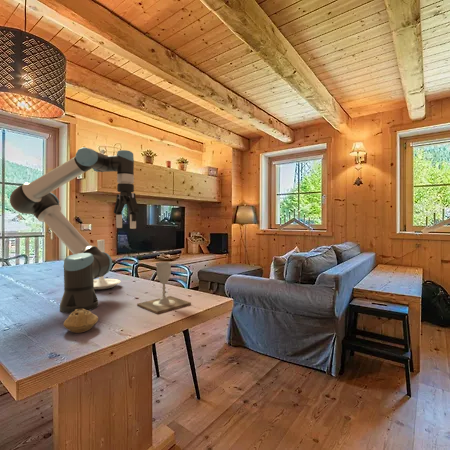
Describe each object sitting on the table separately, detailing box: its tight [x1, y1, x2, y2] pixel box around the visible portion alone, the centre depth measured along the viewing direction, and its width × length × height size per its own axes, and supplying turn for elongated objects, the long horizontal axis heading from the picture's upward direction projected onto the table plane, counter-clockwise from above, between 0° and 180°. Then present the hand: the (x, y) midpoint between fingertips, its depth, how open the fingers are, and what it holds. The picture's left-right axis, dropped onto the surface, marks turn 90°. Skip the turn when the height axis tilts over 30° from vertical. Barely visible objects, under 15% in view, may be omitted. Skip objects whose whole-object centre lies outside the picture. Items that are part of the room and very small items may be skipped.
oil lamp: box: [63, 309, 99, 334], centre depth 103 cm, size 11×15×8 cm
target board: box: [136, 295, 192, 315], centre depth 131 cm, size 18×16×1 cm
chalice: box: [155, 261, 173, 304], centre depth 131 cm, size 7×7×18 cm
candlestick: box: [94, 239, 122, 291], centre depth 162 cm, size 21×25×28 cm
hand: (125, 228), depth 138 cm, fingers open, 13 cm apart
